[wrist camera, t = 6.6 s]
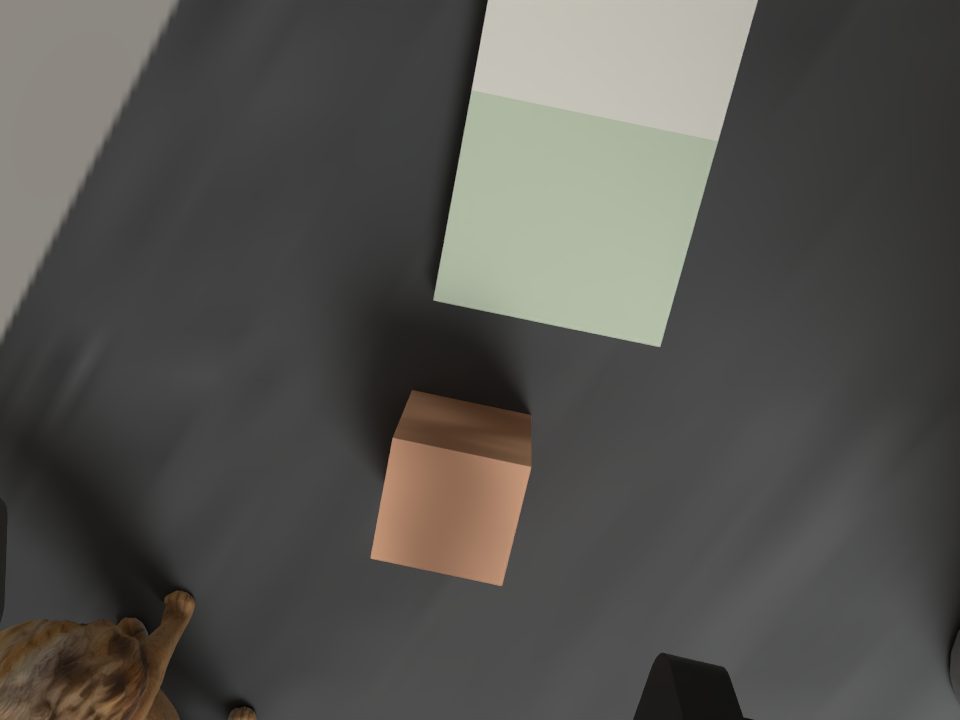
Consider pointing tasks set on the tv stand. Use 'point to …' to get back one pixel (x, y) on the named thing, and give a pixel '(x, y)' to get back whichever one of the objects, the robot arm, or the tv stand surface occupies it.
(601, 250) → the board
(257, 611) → the tv stand surface
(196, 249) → the tv stand surface
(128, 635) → the lion figurine
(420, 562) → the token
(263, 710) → the tv stand surface
